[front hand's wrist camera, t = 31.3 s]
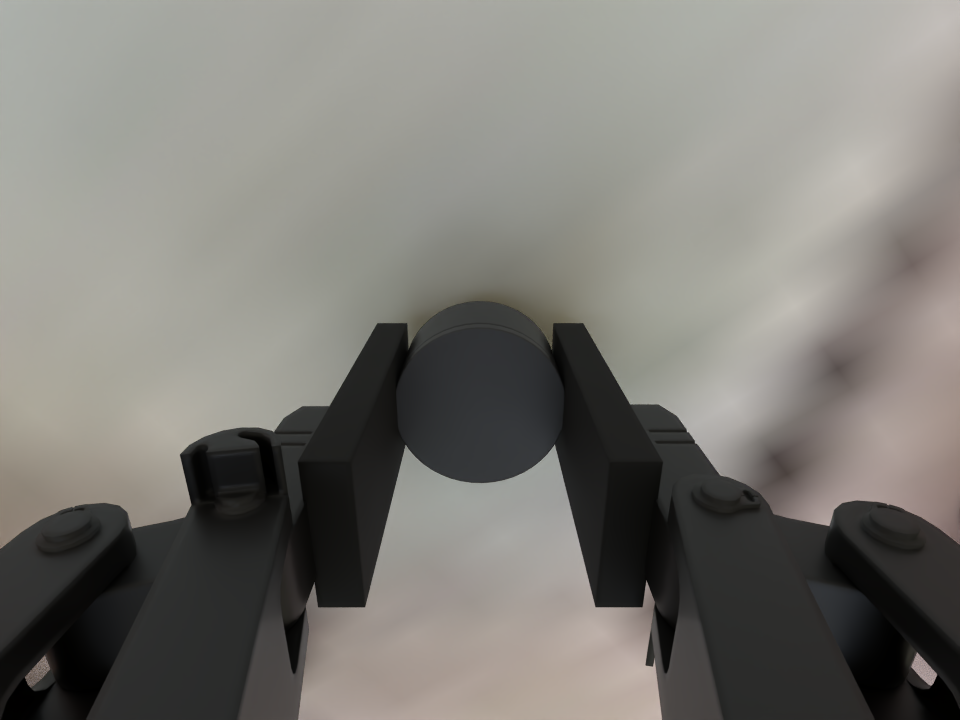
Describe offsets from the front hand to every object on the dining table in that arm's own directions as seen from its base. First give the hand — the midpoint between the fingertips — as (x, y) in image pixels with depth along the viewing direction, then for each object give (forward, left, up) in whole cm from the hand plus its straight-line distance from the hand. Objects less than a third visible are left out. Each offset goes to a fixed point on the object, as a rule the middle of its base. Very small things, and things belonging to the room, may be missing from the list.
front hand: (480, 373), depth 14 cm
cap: (0, 0, +2) cm, 2 cm away
